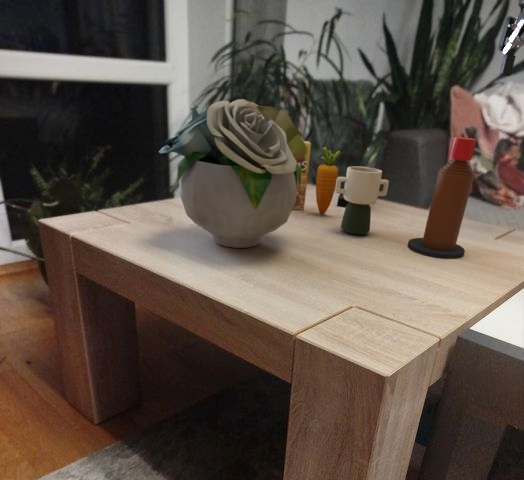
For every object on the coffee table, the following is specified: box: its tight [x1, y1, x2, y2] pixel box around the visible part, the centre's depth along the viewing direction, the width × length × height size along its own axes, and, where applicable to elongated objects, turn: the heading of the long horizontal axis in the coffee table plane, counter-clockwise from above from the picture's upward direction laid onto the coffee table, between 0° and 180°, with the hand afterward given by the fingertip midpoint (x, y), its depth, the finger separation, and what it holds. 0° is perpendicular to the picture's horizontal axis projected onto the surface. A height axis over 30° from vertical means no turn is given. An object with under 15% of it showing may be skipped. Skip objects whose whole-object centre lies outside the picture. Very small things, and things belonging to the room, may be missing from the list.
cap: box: [448, 136, 477, 162], centre depth 92 cm, size 4×4×4 cm
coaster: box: [407, 237, 466, 259], centre depth 100 cm, size 11×11×1 cm
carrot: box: [315, 146, 342, 216], centre depth 115 cm, size 5×5×15 cm
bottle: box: [422, 159, 475, 251], centre depth 96 cm, size 6×6×19 cm
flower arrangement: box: [158, 98, 307, 249], centre depth 89 cm, size 25×25×24 cm
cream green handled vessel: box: [334, 165, 390, 235], centre depth 104 cm, size 11×7×13 cm, turn 93°
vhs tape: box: [336, 187, 349, 208], centre depth 134 cm, size 8×14×2 cm, turn 168°
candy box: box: [292, 140, 312, 211], centre depth 119 cm, size 9×4×15 cm, turn 100°
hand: (520, 76), depth 100 cm, fingers open, 8 cm apart
